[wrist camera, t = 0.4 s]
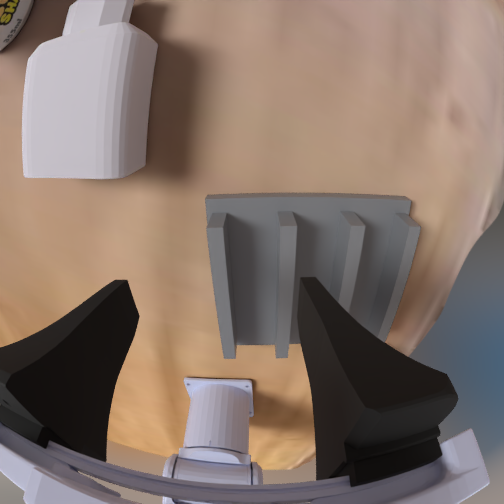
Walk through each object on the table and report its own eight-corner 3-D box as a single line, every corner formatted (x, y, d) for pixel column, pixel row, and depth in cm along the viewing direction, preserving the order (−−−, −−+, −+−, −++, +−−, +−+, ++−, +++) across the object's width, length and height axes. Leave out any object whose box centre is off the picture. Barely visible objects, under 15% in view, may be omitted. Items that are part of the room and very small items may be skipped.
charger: (178, -22, 11) (149, 164, 18) (74, -1, 10) (54, 162, 17) (158, -50, 7) (120, 181, 14) (41, -14, 6) (18, 178, 13)
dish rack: (372, 329, 25) (382, 354, 22) (223, 337, 26) (220, 365, 23) (405, 196, 19) (428, 213, 16) (207, 195, 19) (198, 212, 16)
